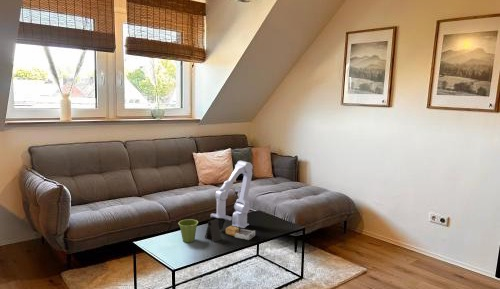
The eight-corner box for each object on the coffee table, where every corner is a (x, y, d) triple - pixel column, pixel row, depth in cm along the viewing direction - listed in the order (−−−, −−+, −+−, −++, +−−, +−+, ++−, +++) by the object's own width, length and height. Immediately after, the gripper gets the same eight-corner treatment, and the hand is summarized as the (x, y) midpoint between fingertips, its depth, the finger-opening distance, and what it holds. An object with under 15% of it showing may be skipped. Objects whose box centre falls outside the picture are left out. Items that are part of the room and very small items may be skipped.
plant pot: (190, 235, 230) (190, 217, 228) (202, 240, 222) (202, 222, 220) (174, 240, 222) (174, 222, 220) (185, 245, 213) (185, 227, 212)
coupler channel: (234, 237, 228) (234, 232, 228) (241, 232, 236) (241, 228, 236) (249, 240, 224) (249, 235, 223) (255, 235, 232) (255, 230, 231)
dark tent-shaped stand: (221, 239, 224) (221, 220, 222) (214, 242, 219) (214, 223, 218) (212, 235, 230) (212, 217, 228) (204, 238, 226) (204, 219, 224)
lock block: (225, 234, 233) (225, 228, 233) (230, 231, 238) (230, 225, 237) (234, 236, 230) (234, 230, 229) (239, 234, 234) (239, 228, 233)
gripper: (208, 208, 235) (208, 229, 236) (228, 212, 229) (227, 233, 230) (213, 205, 241) (213, 225, 243) (233, 209, 235) (233, 229, 237)
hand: (220, 229), depth 237 cm, fingers closed
